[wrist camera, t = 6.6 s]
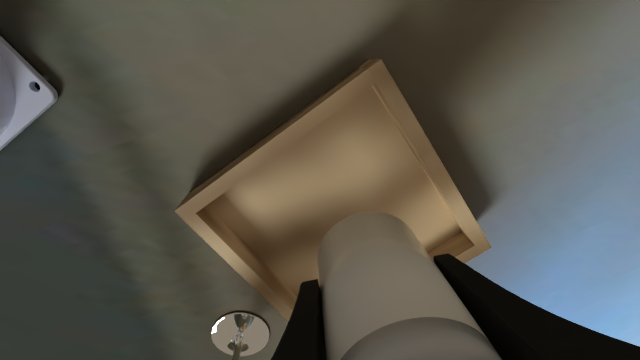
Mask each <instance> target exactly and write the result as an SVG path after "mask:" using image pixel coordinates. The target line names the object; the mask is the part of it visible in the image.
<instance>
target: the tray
mask: <svg viewBox="0 0 640 360" xmlns="http://www.w3.org/2000/svg"><path fill="white" fill-rule="evenodd" d="M370 211H373V212H383V213H387V214H391V215H393V216H395V217H397V218H399V219H401V220H402V221H403V222H405V223H406V224H407V225H408V226H409V227H410V228H411V230H412V231H413V233H414V234H415V235H416V237H417V238H418V240H419V241H420V243H421V244H422V245H423V247H424V248H425V250H426V251H427V253H428V254H429V256H430V257H431V258H432V260H433V261H434V258H433V256H436V255H442V254H447V253H449V254H451V255H452V256H454V257H455V258H457V259H458V260H460V261H461V262H463V263H465V262H467V261H469V260H471V259H472V258H474V257H476V256H477V255H479V254H481V253H483V252H484V251H486V250H488V249H489V248H491V246H490V244H489V242H488V240H487V239H486V237H485V235H484V234H483V232H482V230H481V228H480V227H479V225H478V223H477V222H476V220H475V218H474V217H473V215H472V213H471V211H470V210H469V208H468V206H467V205H466V203H465V201H464V199H463V198H462V196H461V194H460V193H459V191H458V189H457V187H456V186H455V184H454V182H453V181H452V179H451V177H450V175H449V174H448V172H447V170H446V169H445V167H444V165H443V164H442V162H441V160H440V158H439V157H438V155H437V153H436V152H435V150H434V148H433V146H432V145H431V143H430V141H429V140H428V138H427V136H426V134H425V133H424V131H423V129H422V128H421V126H420V124H419V123H418V121H417V119H416V117H415V116H414V114H413V112H412V111H411V109H410V107H409V105H408V104H407V102H406V100H405V99H404V97H403V95H402V93H401V92H400V90H399V88H398V87H397V85H396V83H395V81H394V80H393V78H392V76H391V75H390V73H389V71H388V70H387V68H386V66H385V64H384V63H383V61H382V59H369V60H368V61H367V62H365V63H364V64H363V65H361V66H360V67H358V68H357V69H356V70H354V71H353V72H352V73H350V74H349V75H348V76H346V77H345V78H344V79H342V80H341V81H340V82H338V83H337V84H335V85H334V86H333V87H331V88H330V89H329V90H327V91H326V92H325V93H323V94H322V95H321V96H319V97H318V98H317V99H315V100H314V101H313V102H311V103H310V104H308V105H307V106H306V107H304V108H303V109H302V110H300V111H299V112H298V113H296V114H295V115H294V116H292V117H291V118H290V119H288V120H287V121H285V122H284V123H283V124H281V125H280V126H279V127H277V128H276V129H275V130H273V131H272V132H271V133H269V134H268V135H267V136H265V137H264V138H263V139H261V140H260V141H258V142H257V143H256V144H254V145H253V146H252V147H250V148H249V149H248V150H246V151H245V152H244V153H242V154H241V155H240V156H238V157H237V158H235V159H234V160H233V161H231V162H230V163H229V164H227V165H226V166H225V167H223V168H222V169H221V170H219V171H218V172H217V173H215V174H214V175H213V176H211V177H210V178H208V179H207V180H206V181H204V182H203V183H202V184H200V185H199V186H198V187H196V188H195V189H194V190H192V191H191V192H190V193H188V195H187V196H186V197H185V198H184V200H183V201H182V202H181V203H180V205H179V206H178V207H177V208H176V210H175V212H176V213H177V214H178V215H179V216H180V217H181V218H182V219H183V220H184V221H185V222H186V223H187V224H188V225H189V226H190V227H191V228H192V229H193V230H194V231H195V232H197V233H198V234H199V235H200V236H201V237H202V238H203V239H204V240H205V241H206V242H207V243H208V244H209V245H210V246H211V247H212V248H213V249H214V250H215V251H216V252H217V253H218V254H219V255H220V256H221V257H222V258H223V259H224V260H225V261H226V262H227V263H228V264H229V265H230V266H231V267H232V268H233V269H235V270H236V271H237V272H238V273H239V274H240V275H241V276H242V277H243V278H244V279H245V280H246V281H247V282H248V283H249V284H250V285H251V286H252V287H253V288H254V289H255V290H256V291H257V292H258V293H259V294H260V295H261V296H262V297H263V298H264V299H265V300H266V301H267V302H268V303H269V304H270V305H272V306H273V307H274V308H275V309H276V310H277V311H278V312H279V313H280V314H281V315H282V316H283V317H284V318H285V319H286V320H287V321H288V322H289V319H290V317H291V314H292V312H293V309H294V306H295V303H296V300H297V296H298V293H299V289H300V285H301V283H302V282H305V281H310V280H315V279H318V283H319V274H318V263H317V255H318V250H319V246H320V244H321V242H322V240H323V238H324V236H325V235H326V234H327V232H328V231H329V230H330V229H331V228H332V227H333V226H334V225H335V224H337V223H338V222H339V221H341V220H343V219H344V218H347V217H349V216H351V215H354V214H357V213H362V212H370ZM319 287H320V285H319Z"/></svg>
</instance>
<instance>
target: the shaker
mask: <svg viewBox="0 0 640 360" xmlns="http://www.w3.org/2000/svg"><path fill="white" fill-rule="evenodd" d="M317 263H318V274H319V285H320V294H321V305H322V316H323V326H324V337H325V347H326V357H327V360H502V359H501V357H500V356H499V354H498V353H497V351H496V350H495V349H494V347H493V346H492V344H491V343H490V341H489V340H488V339H487V337H486V336H485V334H484V333H483V331H482V330H481V329H480V327H479V326H478V324H477V323H476V321H475V320H474V319H473V317H472V316H471V314H470V313H469V311H468V310H467V309H466V307H465V306H464V304H463V303H462V301H461V300H460V298H459V297H458V296H457V294H456V293H455V291H454V290H453V288H452V287H451V286H450V284H449V283H448V281H447V280H446V278H445V277H444V276H443V274H442V273H441V271H440V270H439V268H438V267H437V266H436V264H435V263H434V261H433V260H432V258H431V257H430V256H429V254H428V253H427V251H426V250H425V248H424V247H423V245H422V244H421V243H420V241H419V240H418V238H417V237H416V235H415V234H414V233H413V231H412V230H411V228H410V227H409V226H408V225H407V224H406V223H405V222H403V221H402V220H401V219H399V218H397V217H395V216H393V215H391V214H387V213H383V212H373V211H370V212H362V213H357V214H354V215H351V216H349V217H347V218H344V219H343V220H341V221H339V222H338V223H337V224H335V225H334V226H333V227H332V228H331V229H330V230H329V231H328V232H327V234H326V235H325V236H324V238H323V240H322V242H321V244H320V246H319V250H318V255H317Z"/></svg>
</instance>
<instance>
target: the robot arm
mask: <svg viewBox="0 0 640 360" xmlns="http://www.w3.org/2000/svg"><path fill="white" fill-rule="evenodd" d="M35 83H38V84H39V86H40V90H38V89H37V88H36V87H35ZM57 99H58V94H57V91H56V90H55V89H54V88H53V87H52V86H51V85H50V84H49V83H48V82H47V81H46V80H45V79H44V78H43V77H42V76H41V75H40V74H39V73H38V72H37V71H36V70H35V69H34V68H33V67H32V66H31V65H30V64H29V63H28V62H27V61H26V60H25V59H24V58H23V57H22V56H21V55H20V54H19V53H18V52H17V51H16V50H15V49H14V48H12V47H11V46H10V45H9V44H8V43H7V42H6V41H5V40H4V39H3V38H2V37H1V36H0V150H1V149H3V148H4V147H5V146H6V145H7V144H8V143H9V142H11V141H12V140H13V139H14V138H15V137H16V136H17V135H19V134H20V133H21V132H22V131H23V130H24V129H25V128H26V127H28V126H29V125H30V124H31V123H32V122H33V121H34V120H36V119H37V118H38V117H39V116H40V115H41V114H42V113H43V112H45V111H46V110H47V109H48V108H49V107H50V106H51V105H53V104H54V103H55V102H56V101H57ZM433 258H434V263H435V264H436V266H437V267H438V268H439V270H440V271H441V273H442V274H443V276H444V277H445V278H446V280H447V281H448V283H449V284H450V286H451V287H452V288H453V290H454V291H455V293H456V294H457V296H458V297H459V298H460V300H461V301H462V303H463V304H464V306H465V307H466V309H467V310H468V311H469V313H470V314H471V316H472V317H473V319H474V320H475V321H476V323H477V324H478V326H479V327H480V329H481V330H482V331H483V333H484V334H485V336H486V337H487V339H488V340H489V341H490V343H491V344H492V346H493V347H494V349H495V350H496V351H497V353H498V354H499V356H500V357H501V359H502V360H640V347H639V346H636V345H633V344H630V343H627V342H624V341H621V340H618V339H615V338H612V337H609V336H607V335H604V334H601V333H598V332H596V331H593V330H591V329H588V328H586V327H583V326H581V325H578V324H576V323H573V322H571V321H568V320H566V319H564V318H561V317H559V316H557V315H555V314H553V313H550V312H548V311H546V310H544V309H542V308H540V307H538V306H536V305H534V304H532V303H530V302H528V301H526V300H524V299H522V298H520V297H518V296H517V295H515V294H513V293H511V292H509V291H508V290H506V289H504V288H502V287H501V286H499V285H497V284H496V283H494V282H492V281H491V280H489V279H488V278H486V277H484V276H483V275H481V274H480V273H478V272H476V271H475V270H473V269H472V268H470V267H469V266H467V265H466V264H464V263H463V262H461V261H460V260H458V259H457V258H455V257H454V256H452V255H451V254H449V253H447V254H442V255H436V256H433ZM271 360H327V357H326V347H325V337H324V326H323V316H322V305H321V294H320V287H319V283H318V279H315V280H310V281H305V282H302V283H301V285H300V289H299V293H298V296H297V300H296V303H295V306H294V309H293V312H292V314H291V317H290V319H289V322H288V325H287V327H286V329H285V332H284V334H283V336H282V338H281V340H280V343H279V345H278V347H277V349H276V351H275V353H274V355H273V357H272V359H271Z"/></svg>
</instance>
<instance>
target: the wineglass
mask: <svg viewBox="0 0 640 360" xmlns="http://www.w3.org/2000/svg"><path fill="white" fill-rule="evenodd" d="M269 337H270V331H269V328H268V326H267V324H266V323H265V322H264V321H263V320H262V319H261V318H259V317H258V316H256V315H254V314H251V313H246V312H234V313H229V314H226V315H224V316H222V317H221V318H219V319H218V320H217V321H216V322H215V323H214V325H213V327H212V330H211V338H212V341H213V343H214V345H215V346H216V347H217V348H218V349H219V350H221V351H222V352H224V353H226V354H229V355H233V358H232V360H239V356H249V355H252V354H255V353H257V352H259V351H260V350H262V349H263V348H264V347H265V346H266V344H267V343H268V340H269Z"/></svg>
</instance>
